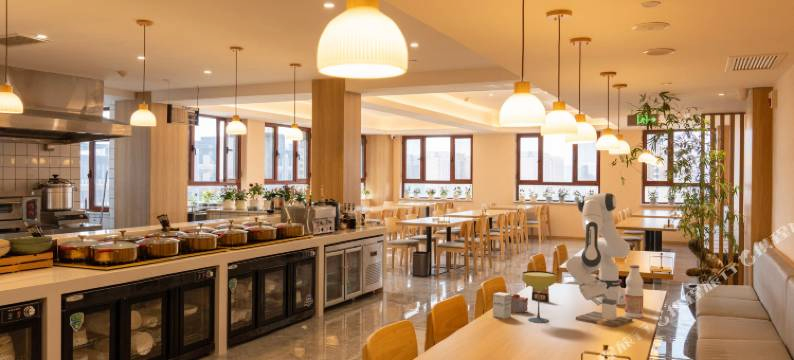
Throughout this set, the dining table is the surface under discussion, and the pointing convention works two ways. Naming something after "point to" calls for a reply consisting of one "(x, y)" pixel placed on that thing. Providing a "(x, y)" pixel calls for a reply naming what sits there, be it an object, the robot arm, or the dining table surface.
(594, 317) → the board
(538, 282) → the cocktail glass
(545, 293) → the thin brown box
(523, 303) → the food item
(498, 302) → the supplement box
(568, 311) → the dining table surface
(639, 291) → the fruit juice
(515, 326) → the dining table surface
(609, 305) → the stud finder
